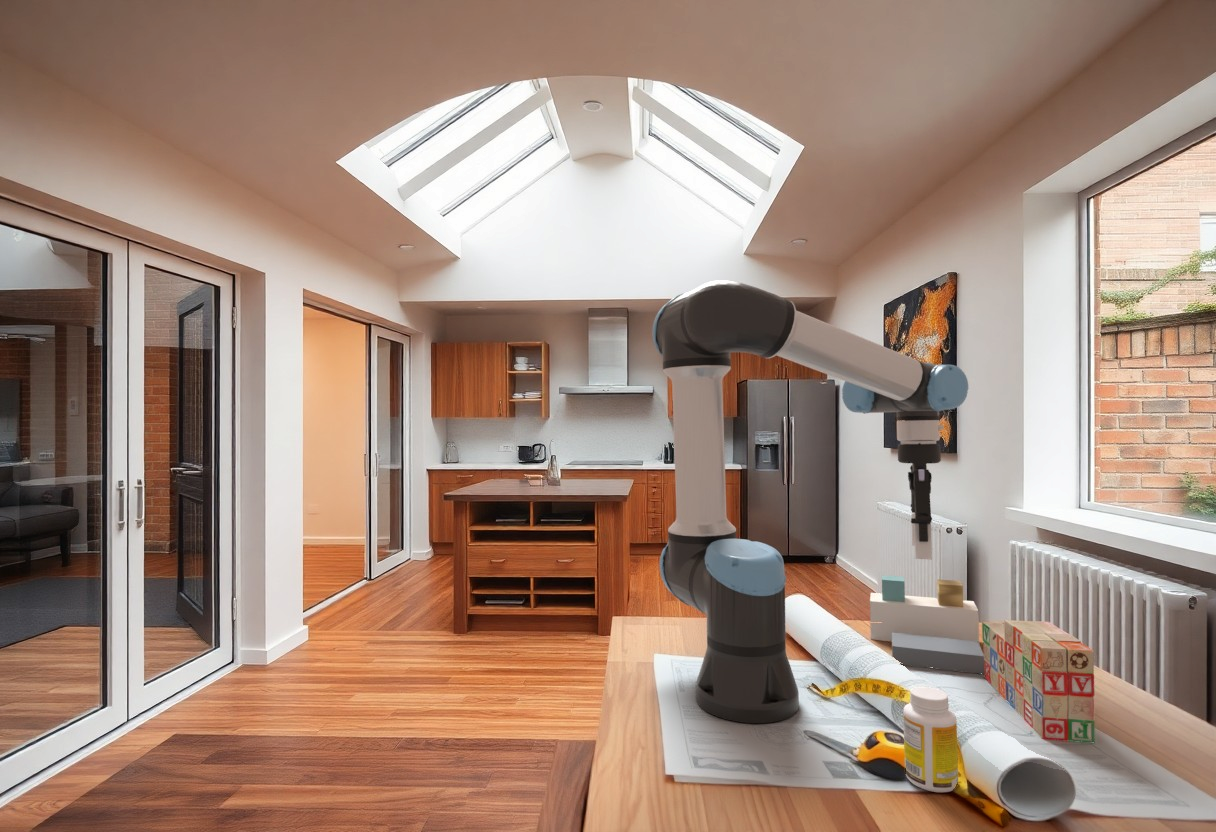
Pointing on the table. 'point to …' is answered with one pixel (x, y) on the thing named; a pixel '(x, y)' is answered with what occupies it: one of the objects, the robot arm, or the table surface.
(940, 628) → the off-white rectangular block
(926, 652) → the block
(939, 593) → the golden brown cube
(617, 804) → the table surface
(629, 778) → the table surface
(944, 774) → the supplement bottle
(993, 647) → the stack of blocks
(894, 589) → the teal cube
